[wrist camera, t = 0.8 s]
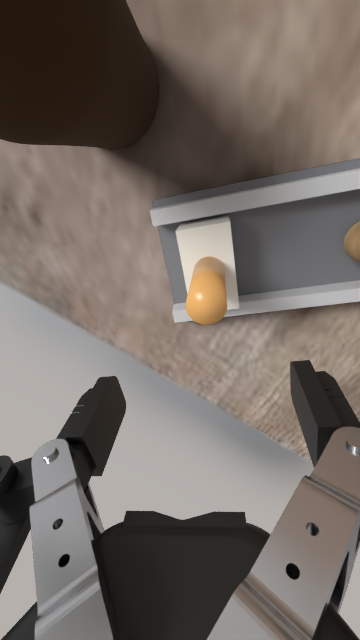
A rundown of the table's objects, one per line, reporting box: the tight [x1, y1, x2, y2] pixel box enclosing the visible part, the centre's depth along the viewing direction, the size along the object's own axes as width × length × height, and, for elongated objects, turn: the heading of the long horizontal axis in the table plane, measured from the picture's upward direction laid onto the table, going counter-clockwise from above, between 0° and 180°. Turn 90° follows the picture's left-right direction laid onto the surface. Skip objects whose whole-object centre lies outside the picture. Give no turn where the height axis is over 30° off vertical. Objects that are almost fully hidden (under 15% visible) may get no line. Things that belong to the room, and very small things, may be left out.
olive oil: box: [0, 0, 159, 149], centre depth 16 cm, size 11×11×25 cm
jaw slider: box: [175, 215, 239, 325], centre depth 26 cm, size 5×9×12 cm, turn 11°
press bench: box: [150, 158, 360, 323], centre depth 28 cm, size 26×14×8 cm, turn 101°
